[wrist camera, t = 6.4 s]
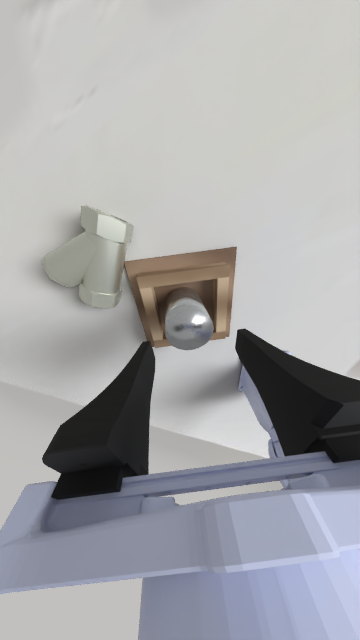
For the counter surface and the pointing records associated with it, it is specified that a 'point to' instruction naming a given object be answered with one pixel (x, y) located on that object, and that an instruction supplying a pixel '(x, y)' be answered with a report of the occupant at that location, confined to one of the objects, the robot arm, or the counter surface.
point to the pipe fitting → (93, 258)
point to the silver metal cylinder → (187, 319)
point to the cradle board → (183, 271)
